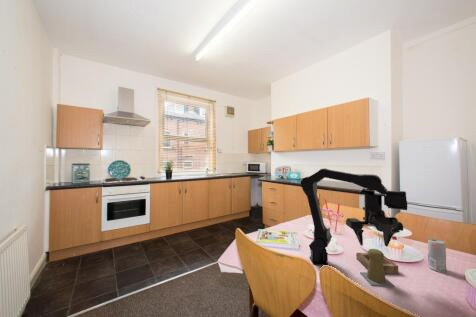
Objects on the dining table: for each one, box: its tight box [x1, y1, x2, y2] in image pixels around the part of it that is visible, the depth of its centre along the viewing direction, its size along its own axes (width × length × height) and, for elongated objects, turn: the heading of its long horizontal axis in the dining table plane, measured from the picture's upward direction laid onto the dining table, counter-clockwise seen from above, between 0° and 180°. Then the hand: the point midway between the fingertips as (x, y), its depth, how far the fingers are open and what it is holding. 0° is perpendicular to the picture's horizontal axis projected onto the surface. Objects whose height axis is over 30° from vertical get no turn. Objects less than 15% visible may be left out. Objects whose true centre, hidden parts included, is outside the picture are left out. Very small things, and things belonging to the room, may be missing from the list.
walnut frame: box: [355, 252, 399, 274], centre depth 85 cm, size 11×11×3 cm
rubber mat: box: [359, 271, 395, 288], centre depth 75 cm, size 8×8×1 cm
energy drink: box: [427, 238, 447, 274], centre depth 82 cm, size 5×5×12 cm
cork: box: [366, 248, 386, 283], centre depth 75 cm, size 6×6×11 cm
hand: (373, 245), depth 77 cm, fingers open, 9 cm apart
